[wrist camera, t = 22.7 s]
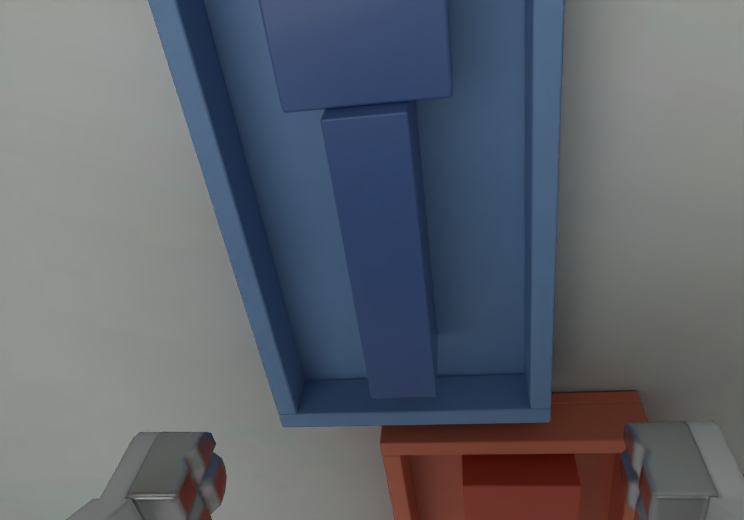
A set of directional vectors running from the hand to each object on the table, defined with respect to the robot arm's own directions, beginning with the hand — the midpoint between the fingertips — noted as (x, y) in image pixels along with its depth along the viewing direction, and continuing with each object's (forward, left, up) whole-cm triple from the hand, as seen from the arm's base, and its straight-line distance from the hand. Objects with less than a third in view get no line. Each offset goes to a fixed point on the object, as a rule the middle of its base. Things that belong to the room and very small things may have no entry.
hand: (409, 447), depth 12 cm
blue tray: (+3, +1, -7) cm, 7 cm away
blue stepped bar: (+4, +1, -6) cm, 7 cm away
